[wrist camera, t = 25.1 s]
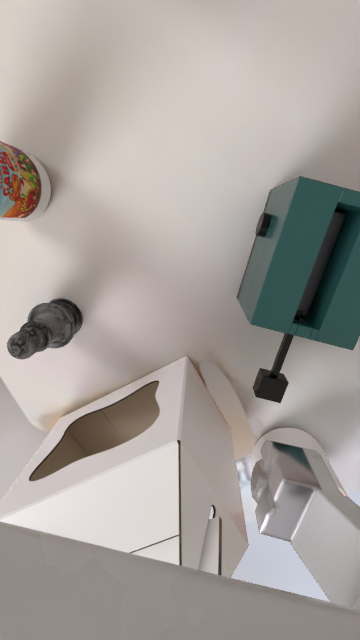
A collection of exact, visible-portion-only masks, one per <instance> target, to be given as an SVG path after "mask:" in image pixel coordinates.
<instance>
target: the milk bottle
mask: <svg viewBox="0 0 360 640" xmlns="http://www.w3.org/2000/svg"><path fill="white" fill-rule="evenodd" d="M50 195H51V185H50V180H49V177H48V174H47V172H46V170H45V169H44V167H43V166H42V164H41V163H40V162H39V161H38V160H37V159H36V158H35V157H33V156H32V155H30V154H28V153H26V152H24V151H22V150H20V149H17V148H15V147H13V146H10V145H8V144H5V143H3V142H1V141H0V220H6V221H25V220H31V219H34V218H36V217H38V216H39V215H40V214H42V213H43V211H44V210H45V209H46V207H47V205H48V203H49V200H50Z"/></svg>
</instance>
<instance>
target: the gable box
mask: <svg viewBox="0 0 360 640" xmlns="http://www.w3.org/2000/svg"><path fill="white" fill-rule="evenodd" d="M211 506H212V507H213V510H214V514H213V518H212V519H209V516H210V511H211ZM0 521H1V522H5V523H9V524H13V525H17V526H21V527H25V528H29V529H33V530H37V531H42V532H46V533H50V534H54V535H58V536H62V537H66V538H70V539H74V540H78V541H83V542H87V543H91V544H95V545H99V546H103V547H107V548H111V549H115V550H119V551H124V552H128V553H132V554H136V555H140V556H144V557H148V558H152V559H156V560H160V561H164V562H168V563H172V564H176V565H180V566H184V567H188V568H192V569H196V570H201V571H205V572H209V573H213V574H217V575H221V576H225V577H229V578H231V576H232V574H233V572H234V571H235V569H236V567H237V565H238V564H239V562H240V560H241V558H242V557H243V555H244V553H245V551H246V549H247V548H248V538H247V532H246V525H245V519H244V512H243V506H242V499H241V493H240V486H239V480H238V473H237V467H236V460H235V454H234V447H233V441H232V434H231V429H230V427H229V425H228V423H227V422H226V420H225V418H224V417H223V415H222V413H221V412H220V410H219V408H218V407H217V405H216V403H215V401H214V400H213V398H212V396H211V395H210V393H209V391H208V390H207V388H206V386H205V385H204V383H203V381H202V380H201V378H200V376H199V375H198V373H197V371H196V370H195V368H194V366H193V364H192V363H191V361H190V359H189V358H188V357H187V356H185V357H183V358H181V359H179V360H177V361H175V362H173V363H171V364H168V365H166V366H164V367H162V368H160V369H158V370H156V371H154V372H152V373H150V374H148V375H146V376H144V377H142V378H140V379H138V380H136V381H134V382H132V383H130V384H128V385H126V386H124V387H122V388H120V389H118V390H116V391H114V392H112V393H110V394H108V395H106V396H104V397H102V398H100V399H98V400H96V401H94V402H92V403H89V404H87V405H85V406H83V407H81V408H79V409H77V410H75V411H73V412H71V413H69V414H67V415H65V416H63V417H61V418H60V419H59V420H58V422H57V423H56V424H55V426H54V427H53V428H52V430H51V431H50V433H49V434H48V436H47V437H46V438H45V440H44V441H43V442H42V444H41V445H40V447H39V448H38V449H37V451H36V452H35V454H34V455H33V456H32V458H31V459H30V461H29V462H28V463H27V465H26V466H25V468H24V469H23V470H22V472H21V473H20V474H19V476H18V477H17V479H16V480H15V481H14V483H13V484H12V486H11V487H10V488H9V490H8V491H7V493H6V494H5V495H4V497H3V499H2V500H1V501H0Z"/></svg>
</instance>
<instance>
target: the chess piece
mask: <svg viewBox="0 0 360 640" xmlns="http://www.w3.org/2000/svg"><path fill="white" fill-rule="evenodd" d="M81 325H82V315H81V312H80V310H79V309H78V307H77V306H76V305H75V304H74V303H72V302H71V301H68V300H66V299H55V300H53V301H51V302H49V303H42V304H40V305H37V306H36V307H34V308H33V309H32V310H31V312H30V313H29V316H28V322H27V323H25V324H24V325H23V326H22V327H21V329H20V331H19V332H17V333H15V334H14V335H12V336H11V337H10V338H9V340H8V342H7V348H8V351H9V353H10V354H11V355H12V356H13V357H15V358H17V359H26V358H29V357H30V356H32V355H33V354H34V353H36V352H41V351H43V350H45V349H46V348H60V347H63V346H65V345H66V344H68V343H69V342H70V340H71V339H72V337H73V335H74V334H75V333H77V332H78V330H79V329H80V327H81Z"/></svg>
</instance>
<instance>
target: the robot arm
mask: <svg viewBox="0 0 360 640" xmlns="http://www.w3.org/2000/svg"><path fill="white" fill-rule="evenodd" d="M260 451H261V455H262V459H260V460H259V461H257V462H256V463H255V466H254V468H253V471H252V477H251V492H252V497H253V498H254V500H255V501H256V502H257V503H258V505H257V507H256V510H255V513H256V518H257V523H258V528H259V532H260V534H264V535H267V536H271V537H274V538H278V539H282V540H285V541H289V542H291V545H292V546H293V548H294V550H295V551H296V552H297V554H298V555H299V557H300V558H301V560H302V561H303V563H304V564H305V566H306V567H307V568H308V570H309V571H310V573H311V574H312V576H313V577H314V579H315V580H316V582H317V583H318V584H319V586H320V587H321V589H322V590H323V592H324V593H325V595H326V596H327V598H328V599H329V600H330V602H328V601H324V600H320V599H315V598H311V597H307V596H303V595H298V594H295V593H291V592H286V591H282V590H278V589H274V588H270V587H266V586H261V585H257V584H253V583H249V582H245V581H241V580H237V579H233V578H229V577H225V576H221V575H217V574H213V573H209V572H205V571H201V570H196V569H192V568H188V567H184V566H180V565H176V564H172V563H168V562H164V561H160V560H156V559H152V558H148V557H144V556H140V555H136V554H132V553H128V552H124V551H119V550H115V549H111V548H107V547H103V546H99V545H95V544H91V543H87V542H83V541H78V540H74V539H70V538H66V537H62V536H58V535H54V534H50V533H46V532H42V531H37V530H33V529H29V528H25V527H21V526H17V525H13V524H9V523H5V522H1V521H0V640H360V507H359V506H358V505H357V504H355V503H354V502H353V501H352V500H351V499H350V498H349V497H347V496H343V495H342V494H341V492H340V490H339V488H338V487H337V485H336V483H335V481H334V479H333V477H332V475H331V473H330V472H329V470H328V468H327V466H326V464H325V462H324V460H323V458H322V457H321V455H320V453H319V452H317V451H316V450H311V449H307V448H302V447H296V446H292V445H288V444H283V443H279V442H275V441H270V440H266V441H265V442H264V443H263V445H262V448H261V450H260Z"/></svg>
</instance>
